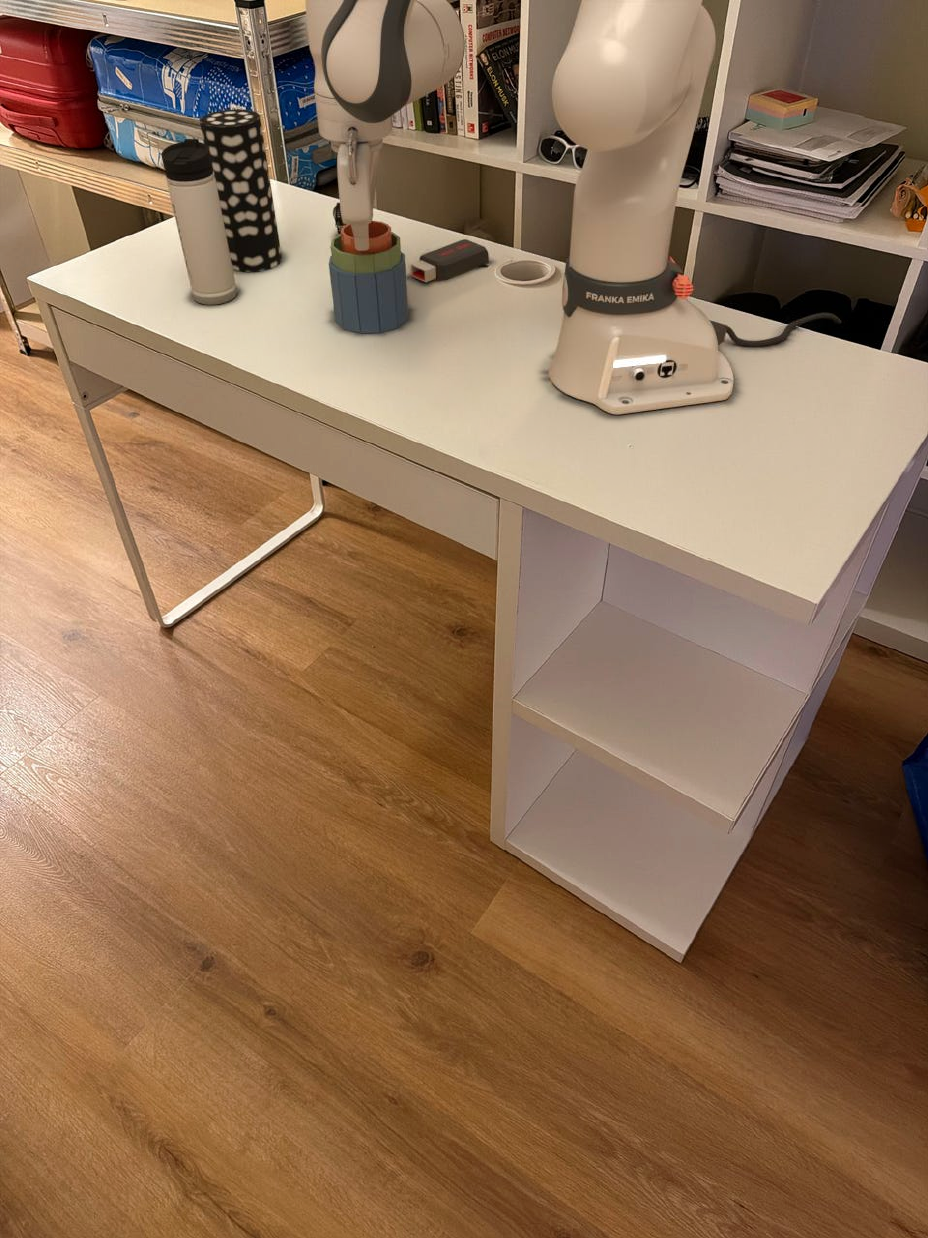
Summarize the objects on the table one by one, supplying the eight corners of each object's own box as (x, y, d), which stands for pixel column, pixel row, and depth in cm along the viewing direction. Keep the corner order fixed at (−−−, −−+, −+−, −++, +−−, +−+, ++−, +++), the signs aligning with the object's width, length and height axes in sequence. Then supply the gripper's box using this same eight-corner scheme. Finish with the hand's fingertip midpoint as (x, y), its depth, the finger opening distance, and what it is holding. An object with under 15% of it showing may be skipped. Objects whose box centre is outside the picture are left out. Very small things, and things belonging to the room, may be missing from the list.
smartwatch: (361, 231, 148) (359, 200, 144) (346, 243, 144) (343, 211, 141) (339, 228, 149) (336, 196, 145) (323, 239, 146) (320, 207, 142)
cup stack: (408, 299, 129) (404, 225, 122) (407, 332, 122) (402, 255, 115) (338, 301, 129) (330, 227, 122) (333, 333, 122) (324, 257, 115)
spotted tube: (216, 263, 139) (186, 120, 125) (254, 245, 144) (230, 105, 130) (255, 276, 136) (229, 130, 122) (293, 257, 141) (272, 114, 127)
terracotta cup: (396, 289, 127) (392, 219, 120) (394, 310, 122) (389, 238, 115) (349, 290, 126) (343, 220, 120) (346, 311, 122) (338, 239, 115)
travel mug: (243, 286, 133) (215, 138, 120) (230, 306, 129) (200, 154, 115) (201, 284, 134) (169, 137, 120) (187, 304, 129) (152, 153, 115)
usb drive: (489, 262, 138) (489, 243, 136) (430, 286, 133) (429, 267, 131) (465, 252, 141) (465, 234, 139) (407, 275, 135) (406, 256, 133)
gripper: (377, 143, 101) (386, 266, 111) (383, 92, 116) (391, 204, 125) (320, 144, 101) (334, 267, 110) (334, 93, 116) (345, 205, 125)
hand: (364, 233), depth 118 cm, fingers open, 8 cm apart
